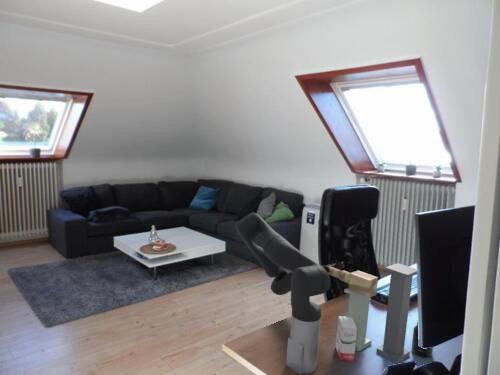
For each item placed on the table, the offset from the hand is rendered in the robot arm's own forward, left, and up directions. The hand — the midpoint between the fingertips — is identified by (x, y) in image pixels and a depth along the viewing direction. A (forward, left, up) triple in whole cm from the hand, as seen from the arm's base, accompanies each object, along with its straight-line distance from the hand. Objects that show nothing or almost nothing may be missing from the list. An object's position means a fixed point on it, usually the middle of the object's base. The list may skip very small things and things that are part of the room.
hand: (336, 266), depth 147 cm
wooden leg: (0, -6, -5) cm, 8 cm away
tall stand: (+5, -23, -25) cm, 35 cm away
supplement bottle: (+14, -29, -26) cm, 41 cm away
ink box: (-9, -13, -26) cm, 30 cm away
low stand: (0, -11, -25) cm, 28 cm away
